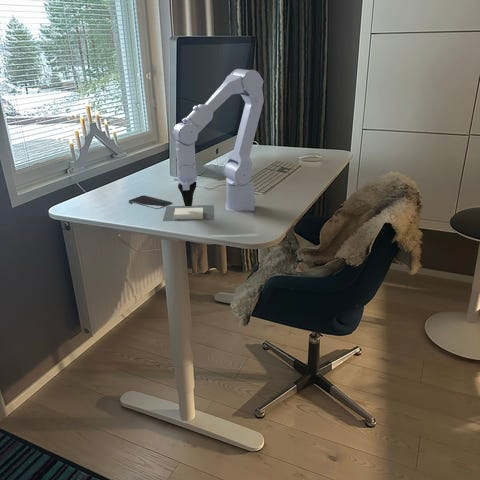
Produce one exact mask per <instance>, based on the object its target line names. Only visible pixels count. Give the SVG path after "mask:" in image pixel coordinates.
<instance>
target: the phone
mask: <svg viewBox="0 0 480 480" xmlns="http://www.w3.org/2000/svg"><path fill="white" fill-rule="evenodd" d="M128 203H129V204H130V205H134V204H137V205H139V206H143V207H147V208H152V209H155V210H159V209H162V208H163V209H164V208H166V207H167V206H171V205H173V201H168V200H164V199H160V198H157V197H153V196H149V195H140V196H138V197H137V196H136V197H135V198H132V199H128ZM153 206H155V207H153ZM157 207H158V208H157Z"/></svg>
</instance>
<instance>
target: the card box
mask: <svg viewBox="0 0 480 480" xmlns="http://www.w3.org/2000/svg"><path fill="white" fill-rule="evenodd" d="M174 219H203V208H175V212H174Z"/></svg>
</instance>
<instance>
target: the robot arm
mask: <svg viewBox="0 0 480 480" xmlns="http://www.w3.org/2000/svg"><path fill="white" fill-rule="evenodd" d="M264 83H265V82H264V79H263V78H262V76H261V74H260V73H259V72H258V71H257V70H255V69H242V68H236V69H234V70H233V71H232V72H231V73H230V74H229V75H227V76H226V77H225V80H224V81H223V82H222V84H221V85H220V86H219V87H217V89H216V91H215V92H214V93H213V94H212V95H211V96H210V97H209V99H208V100H207V101H206V102H205V103H204V104H202V103H200V104H198V105H194V106H193V107H192V111H191V112H190V113H189V114H188V115H187V116H186V117H184V118H183V119H181V121H182V122H178V123H177V124H175V126H174V127H173V130H172V132H171V137H172V138H173V140H174V141H175V154H176V155H175V156H176V157H175V158H176V172H177V176H174V177H173V181H174V182H178V184H177V189H178V190H179V191H180V193H181V197H182V200H183V203H184V204H183V205H184V206H193V200H194V199H193V198H194V194H195V191H196V188H197V180H198V178H197V168H196V167H197V165H196V147H195V144H196V142H197V140H198V137H199V134H200V132H202V130H203V129H204V128H205V127H206V126H207V125H208V124H209V123H210V122H211V121H212V120H213V117H214V112H215V111H217V109H218V108H219V107H220V106H221V105H223V103H225V102H226V101H227V100H228V99H229V98H230V97H231V96H233V95H238V94H239V95H240V96H241V98H242V100H243V101H244V107H243V112H242V116H241V119H240V124H239V128H238V131H237V136H236V139H235V142H234V143H235V144H234V147H233V151H232V152H231V153H230V154H229V155H228V156H227V159H226V162H225V163H224V164H223V166H222V174H223V176H224V177H225V178H226V179H225V182H226V183H225V184H226V185H225V186H226V187H225V189H226V202H225V204H224V205H225V211H226V212H229V211H230V212H231V211H233V212H234V211H235V212H236V211H238V212H239V211H250V212H255V204H256V199H255V197H256V196H255V194H256V193H255V192H256V191H255V183H254V182H253V181H251V179H252V176H253V171H252V170H253V169H252V168H253V167H252V166H253V161H252V159H251V157H250V156H251V151H252V147H253V144H254V140H255V136H256V132H257V129H258V124H259V122H260V121H259V120H260V117H261V112H262V109H263V105H264V92H263V86H264V85H263V84H264Z"/></svg>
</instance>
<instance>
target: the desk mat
mask: <svg viewBox="0 0 480 480" xmlns="http://www.w3.org/2000/svg"><path fill="white" fill-rule="evenodd" d="M175 208H203V219H174V212H175ZM164 210H165V211H164V215H163V218H162V222H181V221H182V222H183V221H184V222H186V221H214V220H215V206H214V204H208V205H207V204H205V205H204V204H202V205H200V204H199V205H192V206H185V205H168V206H165V209H164Z"/></svg>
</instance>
